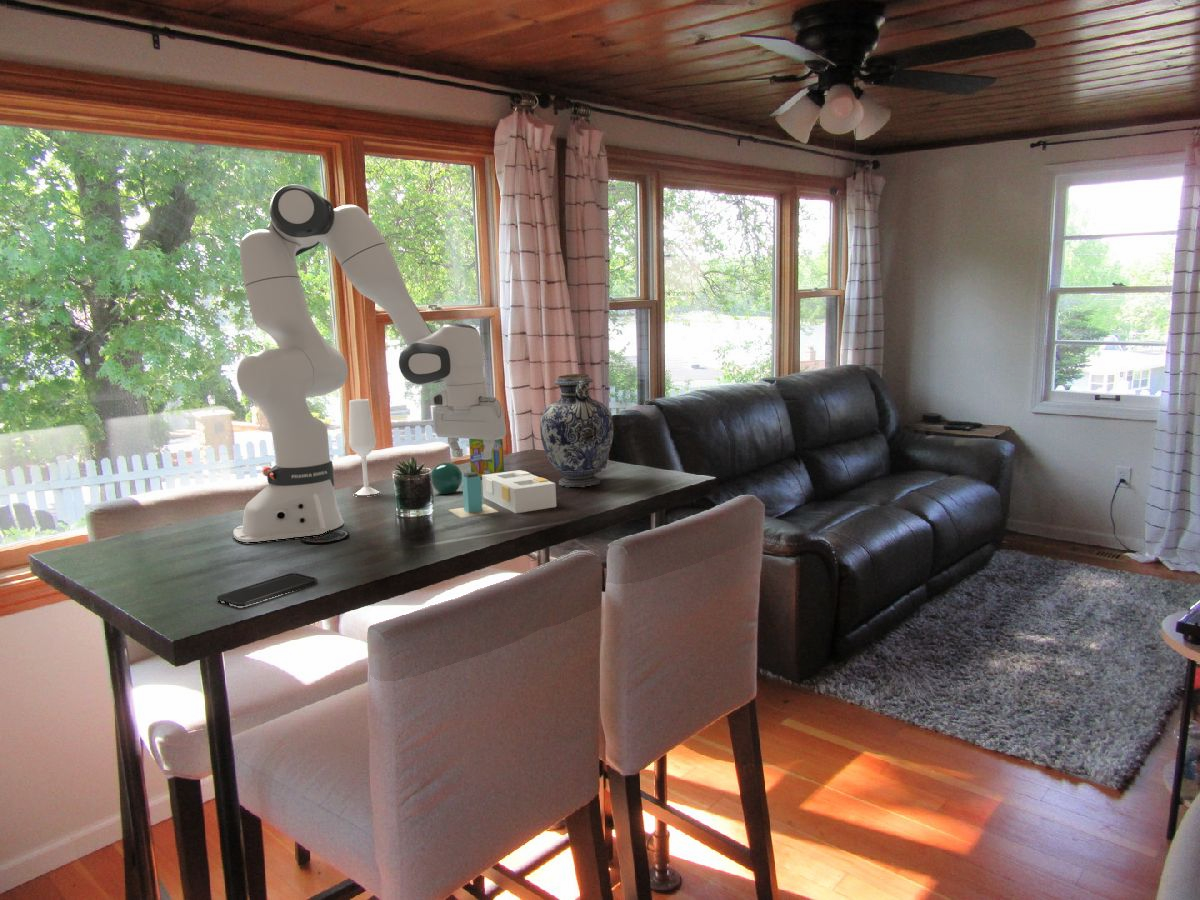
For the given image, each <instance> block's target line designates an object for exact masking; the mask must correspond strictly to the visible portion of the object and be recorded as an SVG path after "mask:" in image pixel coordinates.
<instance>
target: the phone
mask: <svg viewBox="0 0 1200 900" xmlns="http://www.w3.org/2000/svg"><path fill="white" fill-rule="evenodd" d="M317 583H318V584H319V581H318V578H317V577H313V576H309V575H306V574H301V573H297V572H291V573H286V574H283V575H281V576H276V577H273V578H270V579H268V580H264V581H261V582H258V583H253V584H251V585H247V586H245V587H242V588H238V589H236V590H235V589H234V590H231V591H228V592H226V593H222V594H219V595H217V596H216V600H217V599H218V600H221V601H224V602H226V604H228V603H230V604H233V605H236V606H246V605H249V604H253V603H256V602H260V601H263V600H265V599H269V598H272V597H275V596H278V595H281V594H285V593H288V592H292V591H296V590H299V589H302V590H304V589H303V588H305V589H308V588H310V587H309V586H311V587H313V586H312V585H314V586H316V585H318V584H317ZM315 584H316V585H315ZM307 587H308V588H307ZM299 591H300V590H299ZM296 592H297V591H296Z"/></svg>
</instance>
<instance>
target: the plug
mask: <svg viewBox="0 0 1200 900" xmlns="http://www.w3.org/2000/svg"><path fill="white" fill-rule="evenodd" d="M481 483H482V478H480V476H479V475H478V473H475V472H471V471H470V472H463V475H462V484H461V486H462V499H463V500H462V501H463V507H464V511H466V512H468V513H473V512H480V511H482V505H483V499H482V496H483V494H482V484H481Z"/></svg>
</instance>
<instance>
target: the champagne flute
mask: <svg viewBox="0 0 1200 900" xmlns="http://www.w3.org/2000/svg"><path fill="white" fill-rule="evenodd" d="M348 402H349V403H348V404H349V407H348V409H349V410H348V446H349V447H350V449H351V450H352V451H353V452H354V453H355V454H356V455H358V456H360V457H361V466H362V468H361V469H362V480H363V486H362V487H361V489H359V490H358V491H357V492H355V493H354V494H357V495H370V494H377V493H379V492H380V491H379V490H378V489H377V490H376V489H375V488H372V487H371V486H369V476H368V475H369V474H368V465H367V464H368V463H367V456H369V455H370V453H372V451H373V450H374V449H375V447H376V446H377V438H376V433H375V428H374V423H373V417H372V411H371V406H370V400H369V399H368V398H359V399H351V400H349V401H348Z"/></svg>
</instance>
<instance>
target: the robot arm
mask: <svg viewBox="0 0 1200 900" xmlns="http://www.w3.org/2000/svg"><path fill="white" fill-rule="evenodd" d="M269 215H270V216H269V217H270V222H269V224H268V225H267V226H266V227H264V228H263V229H262V228H261V229H260V228H259V229H256V230H252V231H250V232H248V233H247V234H245V235H244V236H243V237H242V238H241V241H240V243H239V258H240V266H241V268H240V269H241V275H242V280H243V284H244V288H245V292H246V297H247V300H248V304H249V308H250V312H251V316H252V321H253V323H254V324H255V325H256V327H257V328H258V329H260V330H261V331H263V332H265V333H267V334H268V335H269V336H270V337H271V338H272V339H273V340H274V341H275V343H276V346H278V348H272V349H271V348H270V349H269V348H268V349H263V350H261V351H258V352H254V353H252V354H248V355H247V356H245V357H243V358H242V360H241V361H240V362H239V365H238V367H237V371H236V380H237V385H238V387H239V389H240V391H241V393H242V395H244V396H245V397H246V398H247V399H248V400H250V401H252V402H253V403H254V404H255V405H257V407H258V408H259V409H260V411H261V412H262V413H263V415H264V417H265V419H266V421H267V423H268V426H269V428H270V431H271V434H272V441H273V449H274V455H275V465H274V466H273V467H271V466H269V465H268V466H267V465H266V466H264V467H263V469H262V474H263V475H264V477H266V478H267V483H268V484H267V485H266V486H265V487H264V488H263V489H262V490H261V491H259V492H258V493H257V494H256V495H255V496H254V497H253V498H251V499H250V500H249V501H248V502H247V503H246V505H245V506H244V510H243V516H242V525H239V526H237V527H236V528H234V530H232V531H233V532H232V535H234V537H235V538H236V539H237V540H239V541H243V542H258V541H266V540H273V539H282V538H293V537H302V536H310V535H319V534H323V533H325V532H326V533H327V531H328V532H330V531H333V530H336V529H338V528H340V527H342V526H343V525H344V519H343V517H342V515H341V512H340V509H339V505H338V502H337V501H338V500H337V498H336V493H335V487H334V486H335V481H336V480H335V471H334V465H333V461H332V460H331V457H330V456H331V455H330V446H329V445H330V444H329V443H330V442H329V431H328V428H327V426H326V424H325V423H324V421H322V420H321V419H319V418H317V417H316V416H314V415H313V414H312V412H311V411H310V409H309V406H308V403H307V400H306V399H309V398H314V397H315V398H316V397H321V396H322V397H323V396H326V395H328V394H330V393H332V392H335V391H337V390H339V389H340V388H343V386H345V385H344V384H345V383H346V381H347V379H348V374H349V370H348V363H347V361H346V358H345V356H344V355H343V353H342V352H340V351H339V350H338V349H336V348H335V347H334V346H332V345H331V344H330V343H329V342H328V341H327V340H326V338H324V337H323V335H322V334H321V332H320V330H319V329H318V328H317V326H316V324H315V322H314V321H313V319H312V316H311V314H310V312H309V309H308V306H307V302H306V298H305V295H304V291H303V286H302V283H301V278H300V275H299V270H298V266H297V260H296V259H297V258H296V257H298V256H299V255H301V254H303V253H306V252H308V251H309V250H311V249H313V248H315V247H318V245H320V244H323V245H325V246H326V247H328V249H330V251H331V253H333V255H334V256H335V258H336V260H337V262H338V264H339V266H340V268H341V270H342V271H343V273H344V275H345V276H346V278H347V280H348V281H349V282H350V284H352V286H353V287H354V288H355V290H357V292H358V293H359V294H361V296H363V297H365V298H366V299H369V300H370V301H372V302H373V303H374V304H376V305H378V306H379V307H380V308H382V310H384V312H385V313H386V314H387V316H389V318H390V320H391V321H392V323H393V324H394V327H396V330H397V331H398V333H399V335H400V336H401V337H402V339H403V341H404V342H405V344H406V346H405V348H403V350H402V351H401V353H400V355H399V357H398V367H399V371H400V373H401V374H402V376H403V377H404V378H405V379H406V380H407V381H408V382H410V383H412V384H415V385H420V386H426V385H430V384H438V383H441V382H443V381H444V384H445V385H444V386H445V390H442V391H440V392H439V393H437V394H434V395H433V396H431V398H430V400H431V405H432V406H434V407H433V410H432V419H433V420H432V423H433V429H434V430H433V431H434V433H435V435H436V436H437V437H438V438H447V443H448V445H449V447H450V449H451V450H452V451H451V452H452V456H453V458H462V457H463V455H464V453H463V452H464V451H463V450H464V449H463V448H460V445H459V443H458V442H459V439H468V440H469V439H483V444H485V448H484V451H483V452H481V455H482V459H484V460H489V459H491V458H492V452H491V451H492V449H493V446H494V444H495V441H494V440H498V439H503V440H504V439H505V437H506V435H507V425H506V420H505V414H504V411H503V408H502V403H501V402H500V401H499V400H498V399H497V397H495V396H488V394H487V393H488V392H487V383H486V378H485V375H484V364H485V360H484V350H483V344H482V338H481V335H480V332H479V330H478V329H477V328H476V327H474V326H473V325H471V324H465V323H464V324H463V323H456V322H455V323H454V322H447V323H444V324H443V325H442V326H441V327H440V328H439V329H437V330H436V331H434V332H433V331H431V329H430V327H429V325H428V324H427V322H426V321H425V319H424V316H423V315H422V314H421V312H420V310H419V309H418V307H417V305H416V304H415V302H414V299H412V297H411V295H410V293H409V291H408V289H407V286H406V283H405V282H404V281H405V280H404V279H403V276H402V274H401V271H400V268H399V266H398V264H397V262H396V259H395V257H394V255H393V253H392V251H391V248H390V247H389V245H388V243H387V241H386V240H385V237H384V236H383V235H382V233H381V231H380V230H379V228H378V227H377V226H376V224H375V223H374V222H373V220H372V219H371V218H370V216H369V215H368V214H367V212H365V209H363V208H362V207H360V206H358V205H355V204H345V205H340V206H338V207H336V208H335V207H334V206H333V204H332V202H331V201H329V200H328V199H326V198H324V197H323V196H321V195H320V194H318V193H317V192H316V191H314V190H313V189H311V188H309V187H307V186H305V185H301V184H298V183H297V184H293V183H292V184H288V185H284V186H282V187H280V188H279V189H278V190H277V191H276V192H275V193H274V195H273V196H272V198H271V200H270V204H269ZM329 530H330V531H329ZM326 533H325V534H326ZM323 535H324V534H323ZM234 537H233V538H234ZM258 543H259V542H258Z"/></svg>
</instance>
